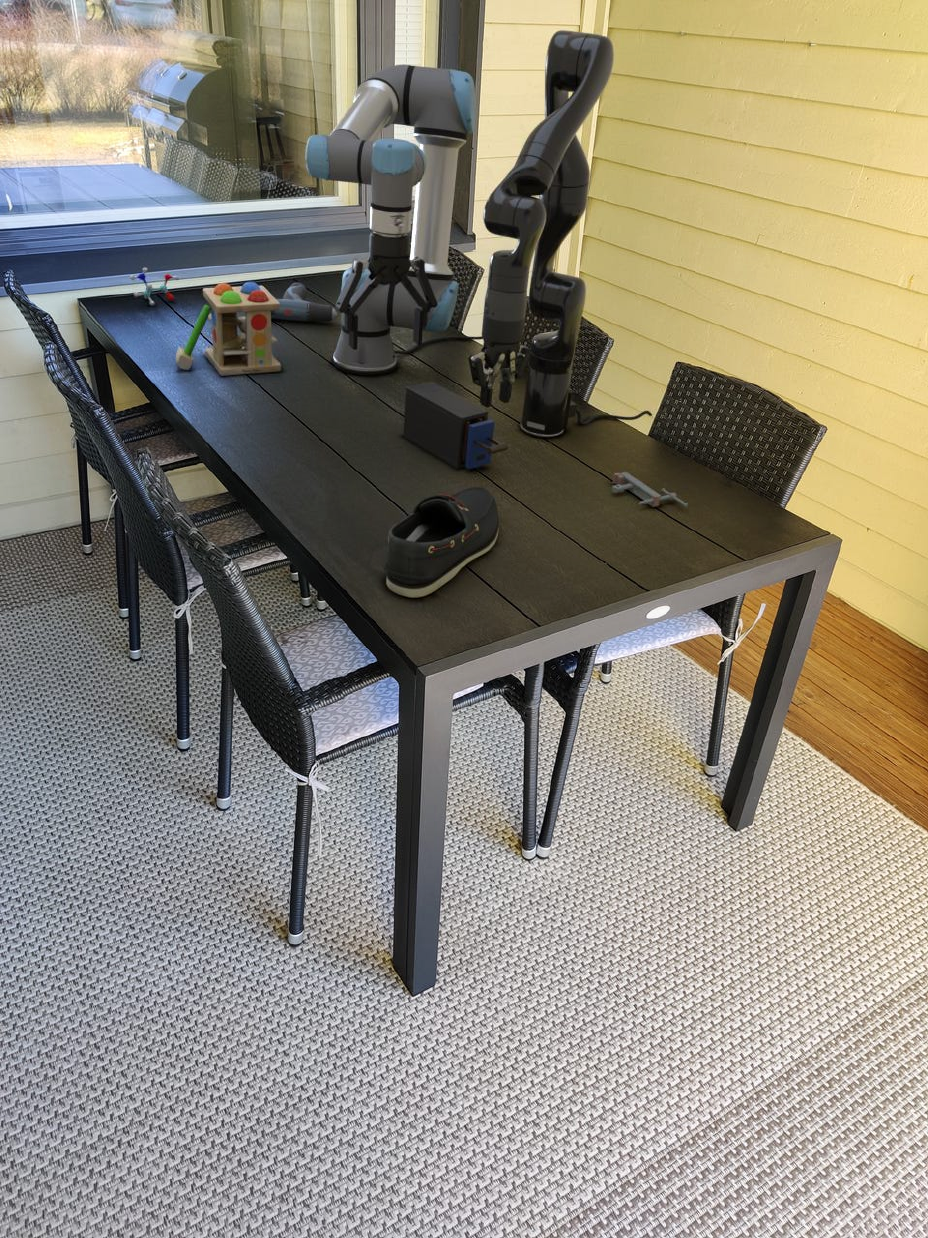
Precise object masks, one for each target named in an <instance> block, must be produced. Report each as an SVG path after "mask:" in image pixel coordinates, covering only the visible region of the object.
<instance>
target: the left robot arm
mask: <svg viewBox="0 0 928 1238" xmlns="http://www.w3.org/2000/svg"><path fill="white" fill-rule="evenodd" d="M476 99H477V98H476V89H475V81H474V78H473V77H472V76H471V74H470V73H468V72H466V71H461V70H457V69H453V68H442V67H441V68H440V67H432V66H431V67H430V66H420V65H411V64H396V65H391V66H388V67H384V68H383V69H380V70H378V71H376V72H374V73H373V74H371V75H369V76H368V77H367V78H365V80H363V81H362V82H361V83H360V84H359V86H358V87H357V88H356V90H355V92H354V96H353V103H352V104H351V106H350V107H349V108H348V109H347V110H346V112H345V114H344V115H343V116H342V118H341V119H340V120H339V122H338V123H337V124H336V126H335V127H334V128H333V129H332V131H331V133H330V134H329V135H326V134H324V133H323V134H312V135H310V136H309V138H308V139H307V143H306V145H305V147H306V148H305V166H306V170H307V173H308V174H309V176H310V177H312V178H314V179H315V178H316V179H322V180H325V181H334V182H341V183H342V182H343V183H344V182H345V183H353V184H360V185H361V184H362V185H366V186H367V185H369V186H371V187H370V215H369V229H370V230H371V232H370V233H369V243H368V244H369V245H368V246H369V247H368V249H369V250H368V253H369V254H368V255H369V256H368V259H367V260H359V259H358V258H353V259H352V263H351V267H349V268H346V270H345V271H344V272H343V274H342V277H341V278H342V281H341V287H340V294H339V295H338V298H337V299H336V302H335V305H334V307H335V309H336V310H337V311H338V312H339V313H340V314H341V316H340V317H341V319H340V321H341V324H340V325H341V326H340V329H341V330H340V336H339V338H338V341H337V343H336V344H335V347H334V349H335V350H334V352H333V354H332V355H333V361H332V362H333V363H332V364H333V366H334V367H335V368H337V369H338V370H339V371H342V372H344V373H347V374H352V375H356V376H380V375H381V376H382V375H386V374H389V373H391V372H393V371H395V369H396V368H397V361H398V359H397V354H398V355H407V354H410V353H412V352H414V351H415V350H417V349H418V348H420V347H422V346H425V345H428V344H431V343H434V342H437V341H438V342H439V341H445V340H472V341H473V340H478V341H479V340H483V337H482V335H481V336H480V335H479V336H466V335H447V336H439V337H434V338H430V339H428V340H425V341H423V332H426V333H428V332H434V333H435V332H436V333H442V332H445V331H446V330H447V329H448V328H449V326H450V323H451V321H452V318H453V315H454V311H455V308H456V303H457V300H458V299H457V298H458V294H459V293H458V292H459V282H457V281H456V280H453V275H454V272H453V270H451V268H450V267H449V266H448V258H449V250H450V249H449V248H450V238H451V229H452V228H451V227H452V219H453V218H452V217H453V207H454V198H455V188H456V178H457V167H458V159H459V158H458V157H459V151H460V148H462V147H463V146H464V145H465V144H466V143H467V139H468V135H471V134H473V133H475V129H476V121H477V102H476ZM390 125H399V126H400V125H401V126H407V127H413V137H414V139H415V140H416V142H417V143H418V145H419V146H418V145H417V144H416V143H413V142H410V141H409V140H405V139H401V138H400V139H399V138H379V139H377V138H378V137H379V135H380V134H381V132H382V130H383V129H386V128H388V127H390ZM414 187H415V197H414V207H413V208H414V209H413V210H412V204H413V191H414V190H413V189H414ZM412 211H413V219H412ZM411 227H412V228H411ZM411 229H412V232H411ZM410 232H411V236H410V234H409V233H410ZM391 327H395V328H403V329H408V330H409V329H410V330H413V332H412V333H413V334H412V335H413V336H412V341H413V342H414V343H415V344H416V345H414V346H413V347H411V348H410V349H407V350H395V347H394V343H393V341H392V337H391V336H392V335H391Z"/></svg>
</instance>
